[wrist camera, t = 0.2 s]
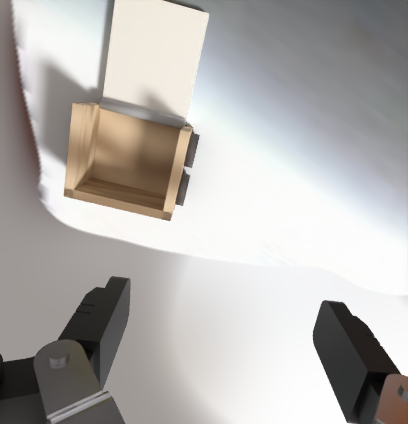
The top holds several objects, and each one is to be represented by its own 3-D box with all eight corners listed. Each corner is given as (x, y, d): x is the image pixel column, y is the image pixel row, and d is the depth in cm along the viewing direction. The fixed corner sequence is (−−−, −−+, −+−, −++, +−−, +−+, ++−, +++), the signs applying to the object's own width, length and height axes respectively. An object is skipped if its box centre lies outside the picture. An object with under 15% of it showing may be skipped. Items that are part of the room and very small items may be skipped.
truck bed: (88, 100, 37) (62, 100, 31) (200, 129, 38) (199, 135, 32) (79, 179, 40) (54, 194, 34) (183, 203, 41) (178, 223, 35)
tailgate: (119, -9, 33) (113, -17, 31) (208, 16, 34) (208, 10, 32) (104, 108, 37) (98, 108, 35) (184, 128, 38) (183, 130, 36)
